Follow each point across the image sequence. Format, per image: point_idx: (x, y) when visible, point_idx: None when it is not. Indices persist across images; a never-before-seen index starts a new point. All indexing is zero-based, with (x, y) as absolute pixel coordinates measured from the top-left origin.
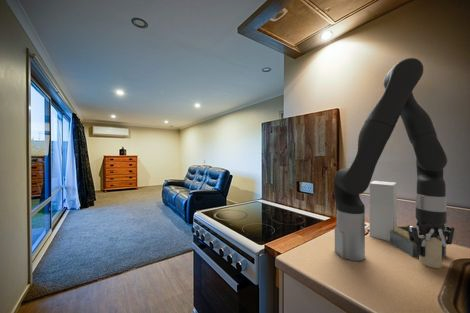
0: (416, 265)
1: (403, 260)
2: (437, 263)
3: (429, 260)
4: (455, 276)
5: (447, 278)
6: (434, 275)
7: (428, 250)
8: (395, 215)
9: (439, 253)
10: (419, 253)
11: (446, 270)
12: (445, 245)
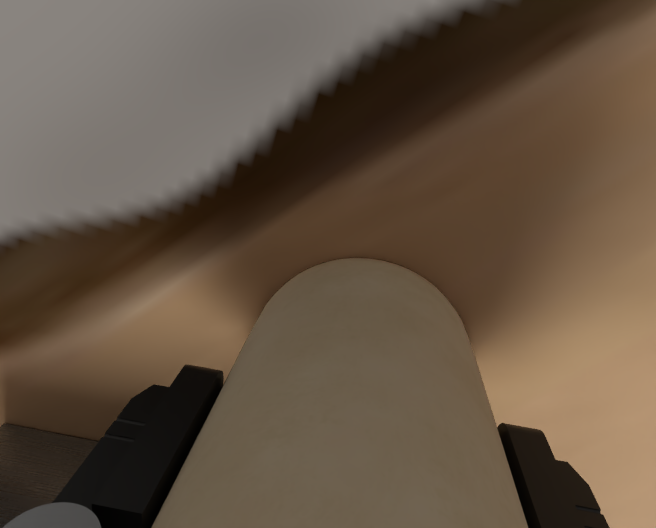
0: (584, 361)
1: (617, 470)
2: (392, 287)
3: (467, 353)
4: (351, 70)
5: (527, 46)
6: (628, 138)
7: (512, 491)
8: None
9: (343, 378)
10: (578, 489)
11: (313, 206)
12: (34, 520)
